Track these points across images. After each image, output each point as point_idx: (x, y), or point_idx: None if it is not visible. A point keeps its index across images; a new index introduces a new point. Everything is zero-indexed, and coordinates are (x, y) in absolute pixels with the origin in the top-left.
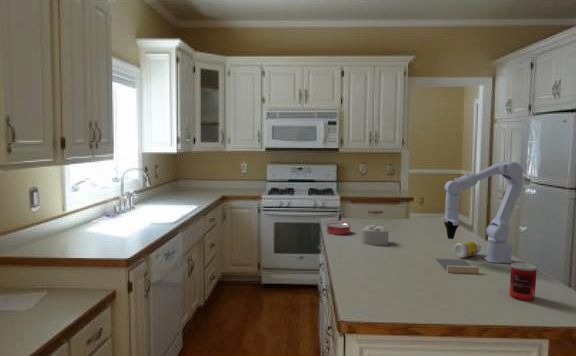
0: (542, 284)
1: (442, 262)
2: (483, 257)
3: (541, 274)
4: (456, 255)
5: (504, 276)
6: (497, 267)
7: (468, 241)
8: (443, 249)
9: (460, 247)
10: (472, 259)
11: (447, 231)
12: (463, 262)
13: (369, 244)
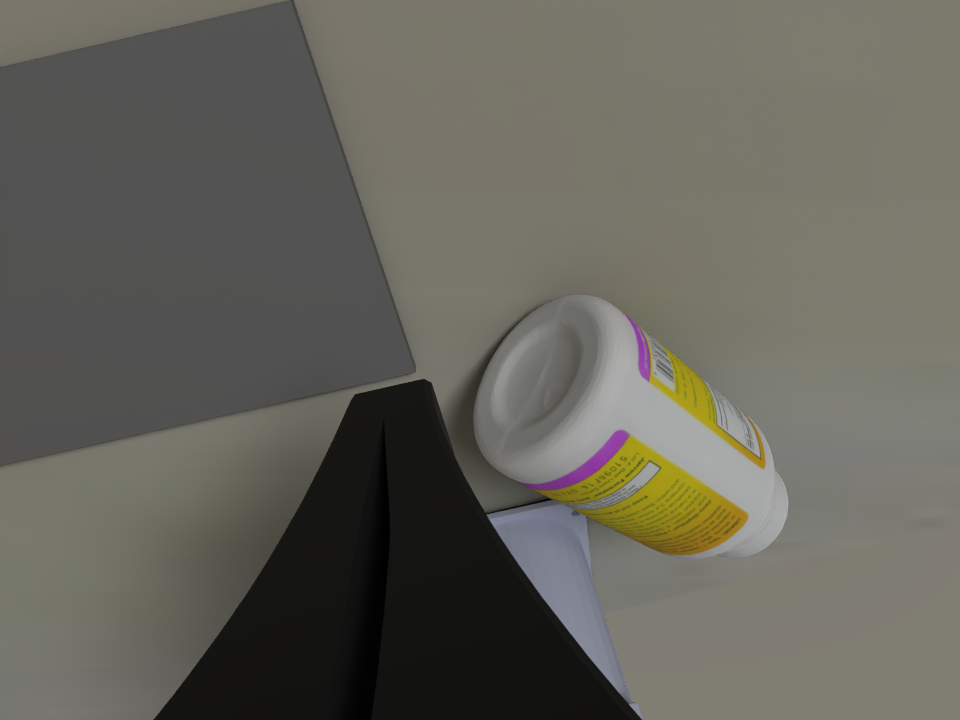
0: (27, 707)
1: (77, 108)
2: None
3: None
4: (544, 306)
5: (39, 597)
6: None
7: (728, 517)
8: (945, 146)
9: (535, 419)
10: None
11: (335, 538)
12: (275, 366)
13: None
